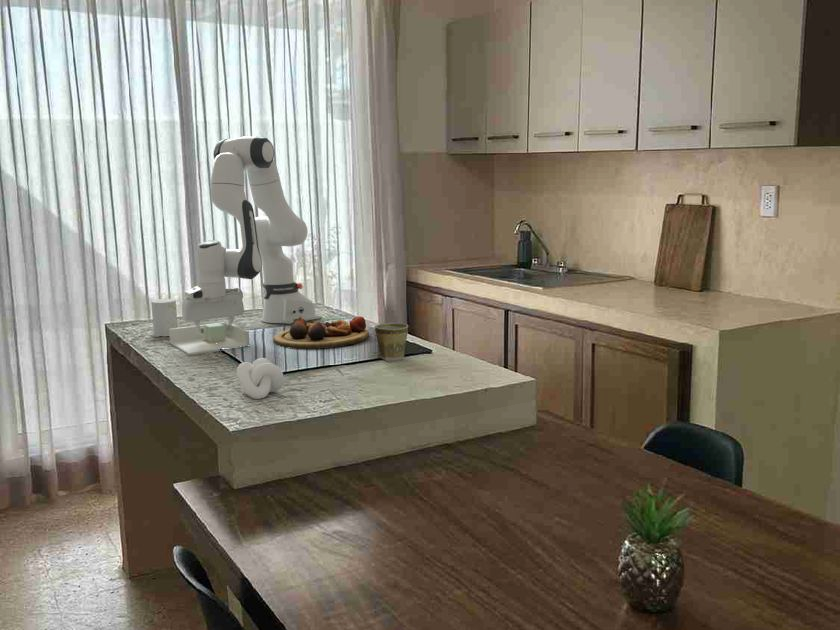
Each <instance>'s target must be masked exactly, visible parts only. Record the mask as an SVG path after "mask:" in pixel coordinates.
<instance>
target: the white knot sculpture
mask: <svg viewBox="0 0 840 630" xmlns="http://www.w3.org/2000/svg"><path fill="white" fill-rule="evenodd" d="M236 368H237V369H236V377H237V380H238V383H239V385H240V387H241V388H240V389H241V392H242V393H243V394H244V395H246V394H247V396H249V397H250V398H252V399H254V400H262V399H264V398H266V397H267V396H268V395H269V394H270V393H269V392H273V393H275V392H278V391H279V390H281V389H282V388H283V385H284V382H285V377H284V373H283V371H282V369H281V368H280V367H279V366H278V365H276V364H274V363H271V362H270V361H269V359H267V358H265V357H259V358H257V359H255V360H254V361H253V362H252V363H251V362H249V361H247V362H246V361H243V362H241V363H239V365H238V367H236ZM261 398H262V399H261Z"/></svg>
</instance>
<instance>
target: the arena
mask: <svg viewBox="0 0 840 630" xmlns="http://www.w3.org/2000/svg"><path fill="white" fill-rule="evenodd" d="M228 322H229V321H223V322H215V323H212V324H218V323H220V324H222V325H224V326H225V324H228ZM210 324H211V323H206V324H199V326H200V327H202V328H204V333H202V334H199V333H198V328H197V327H196V325H190V326H183V327H178V328H172V329H170V336H169V339H170V344H171V345H172V346H174V347H176V348H177V349H178V348H179V350H181V351H182V352H183V353H185V354H187V355H188V356H189V355H197V354H205V353H206V354H207V353H211V352H212V353H213V352H220V351H221V350H220V349H222V348H232V347H240V346H248V345H250V346H251V343H250V331H249V330H247V329H244V328H243V327H240V326H239V325H236V324H234V323H232V325H231V328H232V329H231V330H226V326H225V340H224V341H217V342H209V341H207V340H206V335H205V325H210ZM216 343H217V344H216ZM248 347H249V346H248Z"/></svg>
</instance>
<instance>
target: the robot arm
mask: <svg viewBox="0 0 840 630" xmlns="http://www.w3.org/2000/svg"><path fill="white" fill-rule="evenodd" d="M213 160H214V161H213V166H212V170H211V177H210V199H211V202H212V203H213V205H214V206H215V207H216V208H217V209H218V210H219V211H221V212H223V213H226V214H228V215H230V216H232V217H234V218H235V219H236V220H237V221H238V223H239V227H240V228H239V229H240V233H241V235H240V236H241V243H242V246H241V247H242V248H226V247H224V246H222V243H221V241H219V240H217V239H216V240H215V239H213V240H205V241H202V242H200V243H199V244H197V245H198V246H197V247H196V248H197V249H196V271H197V274H198V279H197V285H196V286H193V287H191V288H189V289H186V290H185V291H184V292H183V296H184V297H185V298H184V299H183V300H182V306H181V307H182V308H181V316H182V319H183V320H184V321H185V322H187V323H188V322H190V323H191V322H193V324H194V326H196V327H197V328H198V333H199V334H202V333H204V328H202V327H200V326H199V325H201V321H205V320H213V319H222V318H227V319H228V321H227V322H228V324H225V326H226V330H231V329H232V328H231V325H232V324H234V320H235V317H239V316H243V315H244V313H245V306H244V301H243V299H244V291H242V289H241V288H238V287H234V288H226V287H227V285H226V284H227V283H226V278H238V279H239V278H240V279H243V280H244V279H245V280H253V279H255V277H257V276H258V275H259V274H260V272H261V271H262V274H263V275H262V276H263V283H262V297H263V309H262V316H261V320H260V321H262V322H263V323H268V324H287V325H291V323H292V322H294V320H295V319H297V318H299V317H301V316H302V317H301V318H303V319H304V320H305V322H308V321H314V320H317V319H322V314H321V313H319V312H316V309H315V304H314V303H313V301H312V300H311V299H310V298H309V297H307V296H306V295H304V294H303V293H301V292H300V291H299V290H302V289H303V284H302V283H301V282H298V283H296V282H295V281H294V265H293V264H294V263H293V261H292V260H291V258H290V257H288V256H287V255H286V254H285V252H283V249H282V247H289V248H290V247H296V246H299V245H303V244H304V243H305V241H306V240H307V237H308V232H309V231H308V226H307V223H306V222H305V221H304V220H303V219H302V218H300V217H299V216H298V215H296V213H295V212H294V211H293V210H292V208H291V207H290V205H289V204H288V201H287V199H286V197H285V193H284V190H283V186H282V182H281V178H280V174H279V170H278V167H277V164H276V161H275V148H274V145H273V143H272V142H271V141H270V140H269V139H268V138H267V137H264V136H241V137H235V138H224V139H221V140H219V141H218V142H216V144H215V146H214V148H213ZM245 171H246V172H247V173H246V174H247V180H248V183H249V187H250V192H251V196H252V199H253V200H252V201H253V203H254V205H255V206H256V208H258V209H260V210H261V211H262V212H263V213H264V214H265V215H262V216H256V217H255V211H254V207H253V205H252V203H251V202H250V201H248V198H247V197H246V193H245ZM293 319H294V320H293Z"/></svg>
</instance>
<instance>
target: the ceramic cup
mask: <svg viewBox="0 0 840 630" xmlns="http://www.w3.org/2000/svg"><path fill="white" fill-rule="evenodd" d="M374 330H375V336H376V340H377V344H378V349H379V355H380V359H381V360H382V359H383V360H382V361H385V362H397V361H402V360H403V359H404V356H405V351H406V350H405V349H406V344H407V338H408V335H409V334H408V332H409V325H408V324H407V323H403V322H402V323H401V322H384V323H379V324H376V325H375V326H374Z"/></svg>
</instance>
